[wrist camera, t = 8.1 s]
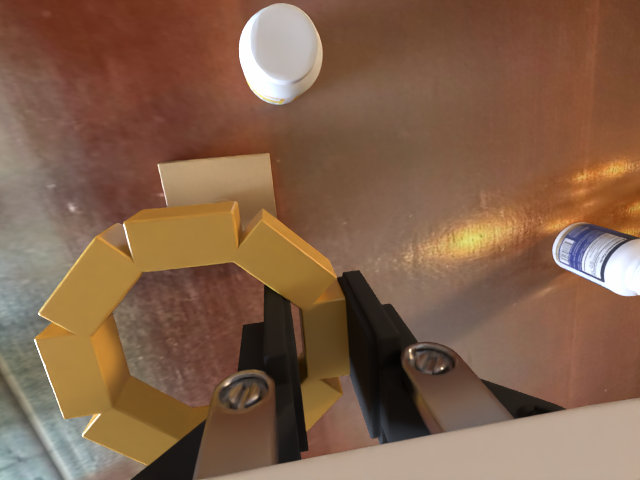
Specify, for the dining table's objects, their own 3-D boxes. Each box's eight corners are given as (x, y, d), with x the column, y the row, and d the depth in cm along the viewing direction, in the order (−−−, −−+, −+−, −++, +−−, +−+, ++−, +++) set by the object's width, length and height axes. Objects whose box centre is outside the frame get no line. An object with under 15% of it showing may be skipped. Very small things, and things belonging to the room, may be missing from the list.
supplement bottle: (254, 110, 29) (248, 103, 20) (236, 39, 28) (222, -2, 19) (316, 97, 30) (338, 84, 21) (302, 27, 28) (320, -21, 19)
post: (162, 162, 30) (110, 179, 20) (269, 152, 31) (270, 165, 21) (183, 260, 33) (147, 319, 23) (280, 248, 34) (286, 300, 24)
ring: (30, 219, 10) (-8, 234, 8) (334, 191, 11) (344, 200, 9) (109, 453, 12) (90, 493, 11) (346, 413, 13) (355, 445, 12)
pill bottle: (604, 242, 39) (709, 278, 30) (566, 277, 39) (657, 322, 30) (580, 210, 37) (684, 238, 28) (541, 246, 38) (630, 285, 28)
